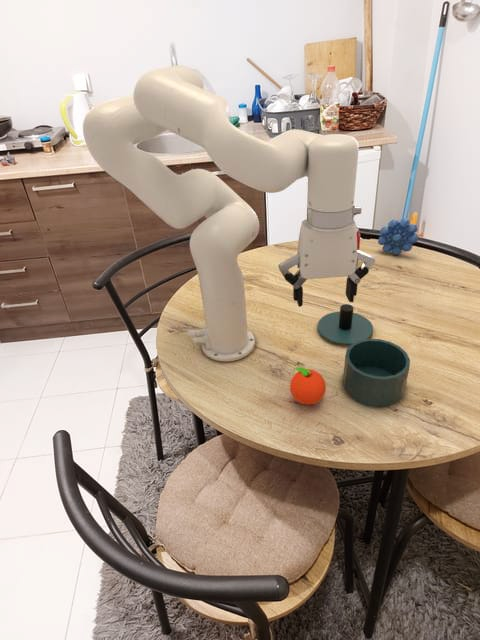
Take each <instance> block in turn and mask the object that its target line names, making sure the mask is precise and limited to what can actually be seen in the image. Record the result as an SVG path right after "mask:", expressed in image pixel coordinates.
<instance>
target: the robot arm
mask: <svg viewBox="0 0 480 640" xmlns="http://www.w3.org/2000/svg"><path fill="white" fill-rule="evenodd" d="M132 91H133V92H132V94H129V95H125V96H122V97H118V98H113V99H109V100H106V101H103V102H100V103H98V104H97V105H95V106H93V107H92V108H91V109H89V110H88V111H87V113H86V114H85V116H84V119H83V122H82V134H83V135H82V136H83V138H84V142H85V145H86V147H87V149H88V151H89V153H90V155H91V156H92V158H93V159H94V161H95V163H96V164H97V165H98V166H99V167H100V168H101V169H102V170H103V171H104V172H105V173H107V174H108V175H109V176H111V177H112V178H113V179H114V180H116V181H117V182H119V184H121V185H123V186H124V187H125V188H127V189H128V190H129V191H130V192H131V193H133V195H134V196H136V197H137V198H138V199H139V200H140V201H141V203H143V204H144V205H145V206H147V207H148V208H149V209H150V210H151V211H152V212H153V213H154V214H155V215H156V216H158V217H159V219H161V220H162V221H163V222H164V223H166V224H167V225H168V226H169V227H171V228H173V229H175V230H182V229H185V228H188V227H190V226H191V225H194V223H196V222H198V221H199V220H200V219H202V218H203V217H205V220H203V221H201V222H200V223H199V224H198V225H197V227H195V228H194V230H193V232H192V234H191V235H190V237H189V251H190V254H191V257H192V260H193V262H194V266H195V268H196V272H197V277H198V282H199V289H200V290H199V291H200V294H201V302H202V303H201V304H202V309H203V317H204V323H205V328H201V329H191V330H190V329H189V330H188V333H187V335H188V337H187V338H188V339H192V344H201V348H202V352H203V353H204V354H205V356H206V357H208V358H209V359H211V360H214V361H217V362H235V361H238V360H242V359H243V358H245V357H247V356H248V355H249V354H251V353H252V351H253V350H254V348H255V346H256V339H255V335H254V334H253V333H252V332H251V330H249V329H248V319H247V304H246V291H245V289H246V288H245V280H244V275H243V271H242V269H241V268H240V266H239V263H238V257H239V255H241V253H242V252H243V251H244V250H245V249H246V248H247V247H249V245H250V244H252V243H253V242H254V240H255V239H256V238H257V236H258V234H259V232H260V221H259V220H260V219H259V217H258V214H257V213H256V211H254V210H253V208H252V207H251V206H250V204H248V202H246V201H245V200H244V199H243V198H242V197H241V196H240V195H239V194H238V193H237V192H235V191H234V189H232V188H231V187H230V186H229V185H228V184H227V183H226V182H224V181H223V179H221V178H220V177H218V176H217V175H216V174H215V173H213V172H211V171H209V170H206V169H203V168H193V169H190V170H188V171H186V172H183V173H181V174H177V173H175V172H174V171H173V170H172V169H170V168H169V167H168V166H167V165H166V164H165V163H164V162H163V161H162V160H161V159H160V158H158V157H156V156H155V155H153V154H151V153H150V152H147V151H145V150H143V149H139V148H138V147H136V146H135V145H136V144H139V143H141V142H144V141H147V140H149V139H152V138H155V137H156V136H159V135H161V134H163V133H164V132H166V131H169V132H171V133H173V134H174V135H177V136H179V137H180V138H181V137H182V138H184V139H185V140H188V141H189V142H192V143H194V144H196V145H197V146H200V147H202V148H203V149H204V150H205V152H206V153H207V155H208V157H209V158H210V160H211V161H212V162H213V163H214V165H216V167H217V168H218V169H219V170H220V171H221V172H223V173H224V174H225V175H227V176H228V177H230V178H231V179H233V180H235V181H237V182H239V183H242V184H243V185H245V186H248V187H249V188H252V189H254V190H257V191H259V192H263V193H268V194H275V193H280V192H283V191H285V190H286V189H287V188H289V187H290V186H292V185H293V184H294V183H295V182H296V181H298V180H300V179H304V178H305V177H307V197H306V199H307V201H306V203H307V204H306V219H304V220H302V221H301V225H300V229H299V233H298V243H297V252H296V254H295V255H293V256H290V257H289V258H287V259H285V260H284V261H282V262H279V264H278V270H279V272H280V273H281V274H282V276H283V278H284V280H285V281H286V282H287V283H289V284H290V285H291V286H292V288H293V289H292V290H293V291H292V297H293V300H294V302H297V303H296V304H297V306H298V307H299V308H300V307H303V304H304V303H303V300H304V289H303V285H304V284H305V282H306V281H308V280H316V279H318V280H319V279H329V278H342V277H347V278H346V282H345V283H346V285H345V296H346V298H347V300H348V303H354V300H355V297H356V296H357V294H358V286H359V285H358V284H360V283H361V280H362V279H363V278H364V277H365V276H367V275H368V274H369V273H370V270H371V268H372V267H373V266H374V264H375V262H376V259H375V257H374V256H373V255H371V254H368V253H366V252H364V251H361V250H360V249H359V250H357V232H356V227H357V226H356V225H357V223H356V221H355V218H354V217H355V216H357V215H361V214H362V206H361V205H355V204H354V203H355V202H354V201H355V194H356V193H355V192H356V184H357V171H358V160H359V149H360V148H359V142H358V141H357V139H356V138H355V137H354V136H351V135H348V134H342V133H331V134H320V133H316V132H313V131H308V130H304V129H296V128H295V129H289V130H286V131H284V132H281V133H280V134H278V135H276V136H274V137H272V138H270V139H269V140H267V141H266V140H263V139H261V138H258V137H255V136H254V135H252V134H249V133H247V132H245V131H243V130H241V129H239V128H238V127H236V125H234V124H233V123H232V122H231V121H230V118H231V109H230V104H229V102H228V101H227V100H226V99H225V97H223V96H221V95H218V94H216V93H214V92H211V91H209V90H207V89H206V88H205V83H204V82H203V79H202V77H201V76H200V75H199V73H197V71H195V70H194V69H193V68H191V67H189V66H186V65H179V64H177V65H171V66H167V67H162V68H156V69H153V70H149V71H147V72H145V73H144V74H142V75H141V76H140V77H139V78H138V79H137V81H136V82H135V85H134V87H133V90H132ZM357 259H358V261H361V262H363V263H362V264H361V265H360V266H358V263H357ZM356 265H357V266H358V267H357V266H356ZM295 266H297V269H298V270H297V271H296V272H295V273H294V274H293V273H292V272H291V271H290V269H291V268H293V267H295Z"/></svg>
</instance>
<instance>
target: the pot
mask: <svg viewBox="0 0 480 640" xmlns="http://www.w3.org/2000/svg"><path fill="white" fill-rule="evenodd" d="M345 351H346V352H345V356H344V365H343V375H342V386H343V390H344V391H345V393H346V394H347V395H348V396H349V397H350V399H352V400H354V401H355V402H357V403H359V404H361V405H364V406H367V407H371V408H385V407H391V406H392V405H395V404H397V403H398V402H399V401H400V400H401V399H402V398H403V396H404V394H405V390H406V385H407V381H408V376H409V372H410V367H411V359H410V357H409V355H408V352H407V351H405V349H403V348H402V347H401V346H399V345H398V344H395V343H394V342H392V341H389V340H385V339H382V338H369V339H365V340H359V341H357V342H355V343H353V344H351V345H349V346H348V348H347V349H346V350H345Z"/></svg>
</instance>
